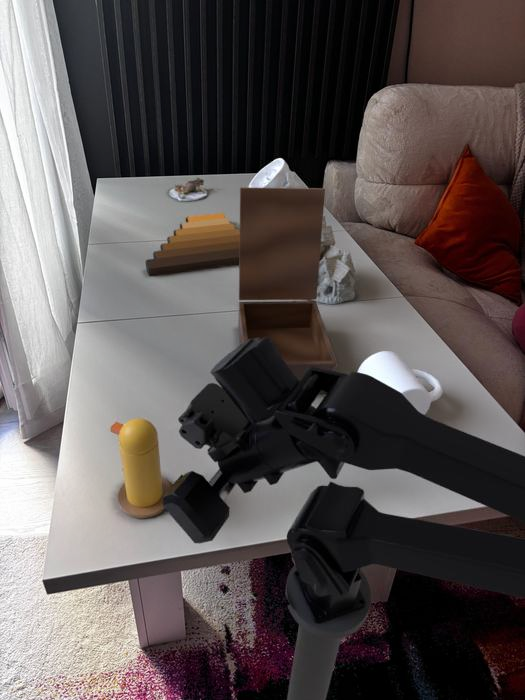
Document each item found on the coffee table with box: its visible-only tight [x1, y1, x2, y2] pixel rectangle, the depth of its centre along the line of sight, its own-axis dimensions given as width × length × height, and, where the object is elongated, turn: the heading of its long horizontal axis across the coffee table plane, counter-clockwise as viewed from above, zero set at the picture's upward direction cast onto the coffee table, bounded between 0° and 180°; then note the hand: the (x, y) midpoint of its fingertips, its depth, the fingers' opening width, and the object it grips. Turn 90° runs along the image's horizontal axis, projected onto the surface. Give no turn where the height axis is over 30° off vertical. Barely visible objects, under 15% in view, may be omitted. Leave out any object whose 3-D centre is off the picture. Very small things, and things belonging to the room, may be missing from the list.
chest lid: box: [238, 186, 326, 301], centre depth 100 cm, size 20×15×4 cm
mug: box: [357, 350, 443, 416], centre depth 88 cm, size 12×10×8 cm
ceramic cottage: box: [310, 214, 360, 305], centre depth 117 cm, size 16×16×15 cm
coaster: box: [117, 475, 172, 519], centre depth 73 cm, size 7×7×1 cm
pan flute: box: [145, 212, 240, 277], centre depth 134 cm, size 25×3×25 cm
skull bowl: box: [248, 157, 301, 188], centre depth 164 cm, size 10×14×12 cm
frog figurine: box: [168, 177, 208, 202], centre depth 164 cm, size 12×12×4 cm
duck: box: [109, 417, 163, 507], centre depth 69 cm, size 6×5×12 cm
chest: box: [237, 300, 338, 395], centre depth 97 cm, size 20×15×6 cm
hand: (189, 477), depth 66 cm, fingers open, 9 cm apart
